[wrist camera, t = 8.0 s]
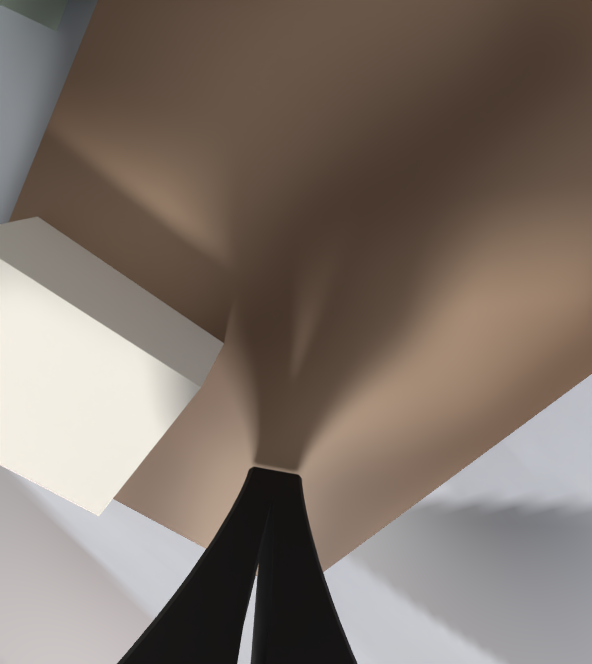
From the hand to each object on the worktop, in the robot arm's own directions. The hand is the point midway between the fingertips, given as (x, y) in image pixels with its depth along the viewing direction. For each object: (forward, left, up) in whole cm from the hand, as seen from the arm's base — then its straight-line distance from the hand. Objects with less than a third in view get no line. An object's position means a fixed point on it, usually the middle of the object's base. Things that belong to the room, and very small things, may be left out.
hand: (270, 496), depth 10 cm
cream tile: (+6, 0, -1) cm, 6 cm away
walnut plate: (+2, -4, -3) cm, 6 cm away
